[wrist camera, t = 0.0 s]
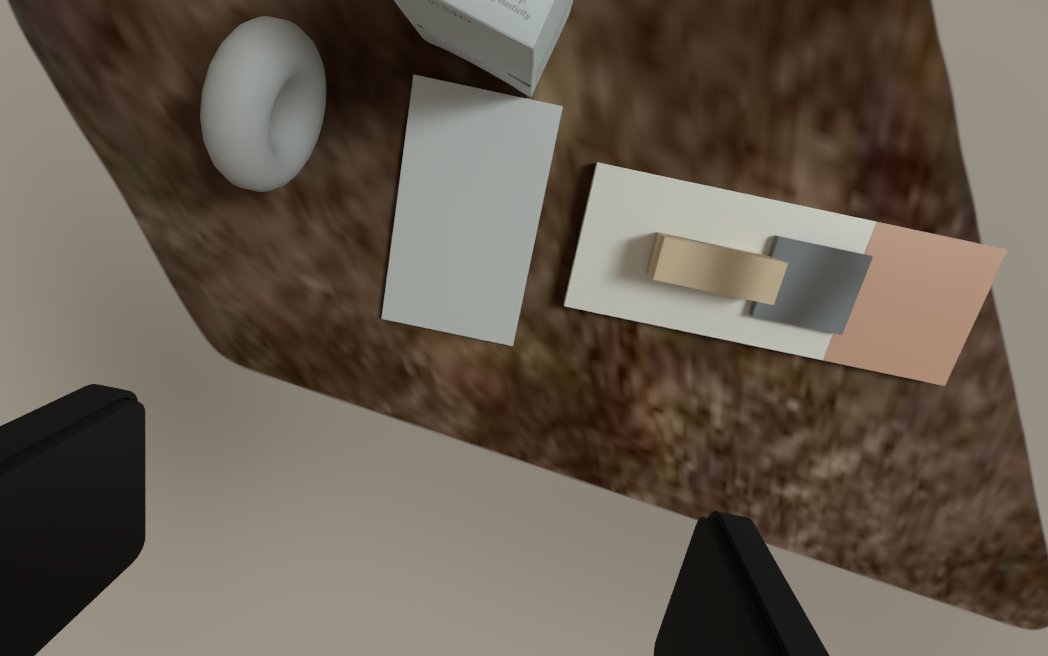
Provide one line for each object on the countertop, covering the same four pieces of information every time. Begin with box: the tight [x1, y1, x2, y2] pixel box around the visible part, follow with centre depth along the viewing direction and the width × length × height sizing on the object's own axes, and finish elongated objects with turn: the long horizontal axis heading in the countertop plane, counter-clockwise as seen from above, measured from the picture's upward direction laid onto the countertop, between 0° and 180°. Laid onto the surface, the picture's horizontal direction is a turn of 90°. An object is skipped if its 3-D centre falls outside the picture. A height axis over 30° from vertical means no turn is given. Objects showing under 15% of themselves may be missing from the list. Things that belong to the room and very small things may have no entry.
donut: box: [200, 16, 326, 192], centre depth 32 cm, size 10×4×10 cm, turn 159°
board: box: [564, 163, 1008, 386], centre depth 38 cm, size 10×28×1 cm, turn 79°
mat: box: [382, 75, 563, 346], centre depth 38 cm, size 17×10×1 cm, turn 168°
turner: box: [646, 232, 873, 335], centre depth 36 cm, size 14×6×3 cm, turn 78°
